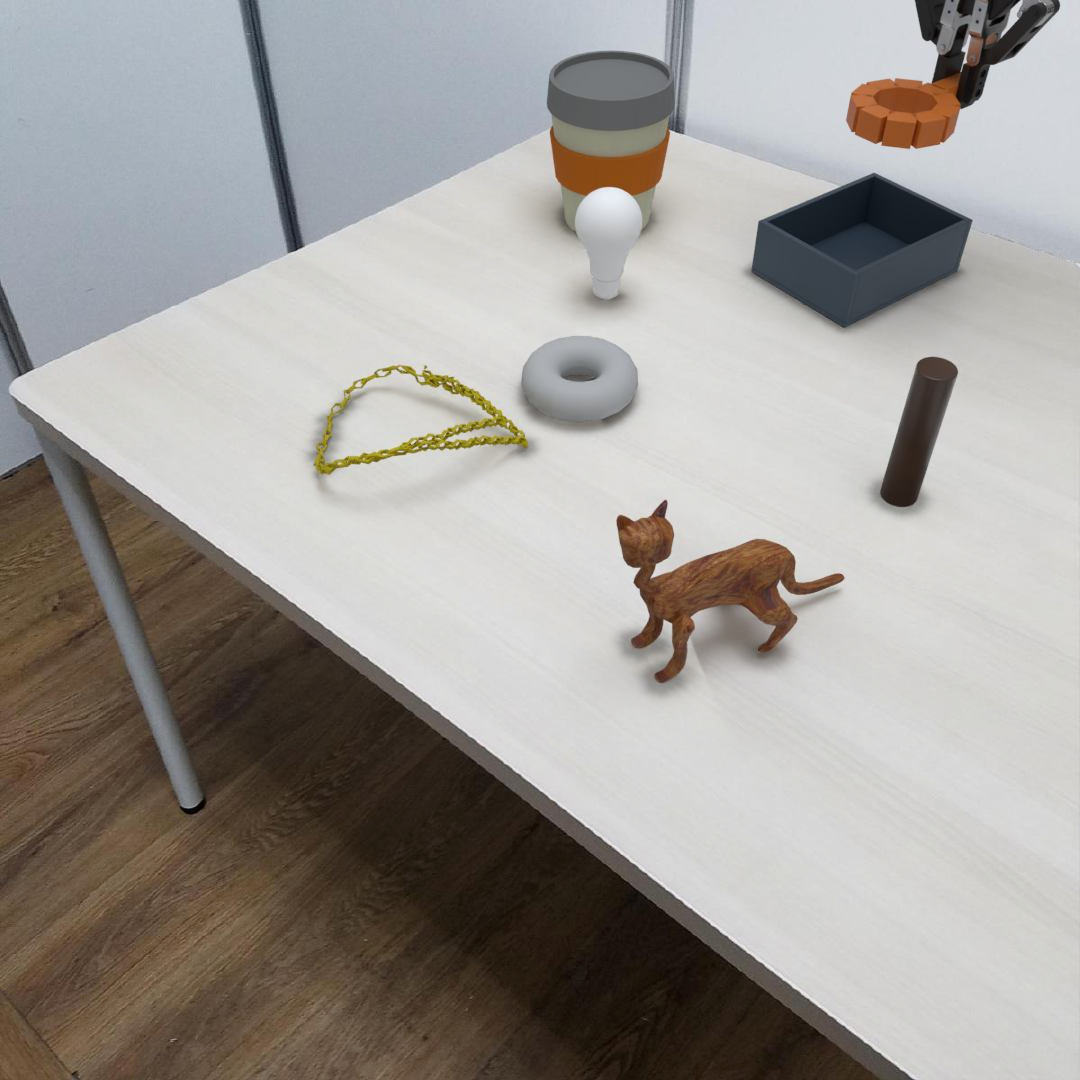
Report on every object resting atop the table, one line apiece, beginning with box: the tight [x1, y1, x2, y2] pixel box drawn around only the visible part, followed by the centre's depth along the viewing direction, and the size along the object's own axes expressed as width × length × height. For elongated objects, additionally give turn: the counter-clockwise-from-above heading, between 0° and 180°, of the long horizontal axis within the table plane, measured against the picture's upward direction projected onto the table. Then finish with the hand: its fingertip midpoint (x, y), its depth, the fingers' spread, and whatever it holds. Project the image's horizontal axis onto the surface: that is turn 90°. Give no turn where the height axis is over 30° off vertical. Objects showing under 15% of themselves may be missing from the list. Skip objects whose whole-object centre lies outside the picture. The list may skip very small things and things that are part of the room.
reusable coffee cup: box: [546, 50, 676, 233], centre depth 108 cm, size 12×13×15 cm
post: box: [879, 356, 959, 508], centre depth 78 cm, size 3×3×12 cm
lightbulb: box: [575, 187, 642, 301], centre depth 99 cm, size 6×6×11 cm
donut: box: [520, 335, 639, 423], centre depth 91 cm, size 10×4×10 cm
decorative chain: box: [312, 364, 529, 476], centre depth 86 cm, size 16×15×5 cm
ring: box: [845, 72, 961, 150], centre depth 90 cm, size 13×9×2 cm
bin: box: [751, 172, 973, 328], centre depth 103 cm, size 16×12×6 cm
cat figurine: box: [616, 499, 846, 684], centre depth 68 cm, size 18×7×14 cm, turn 114°
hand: (953, 100), depth 93 cm, fingers closed on ring, 1 cm apart
